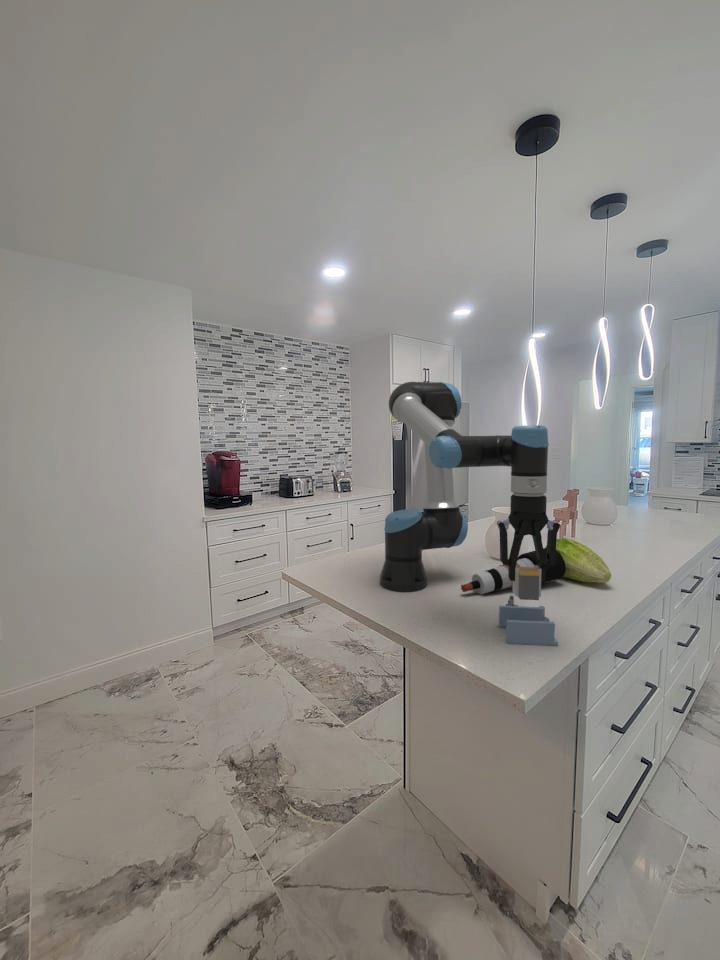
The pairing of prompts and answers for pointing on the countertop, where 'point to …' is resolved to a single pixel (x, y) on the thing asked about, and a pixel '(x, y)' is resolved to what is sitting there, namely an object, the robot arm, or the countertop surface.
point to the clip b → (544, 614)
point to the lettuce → (582, 562)
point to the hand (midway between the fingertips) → (526, 594)
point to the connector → (528, 583)
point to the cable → (499, 575)
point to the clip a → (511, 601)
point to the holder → (526, 625)
